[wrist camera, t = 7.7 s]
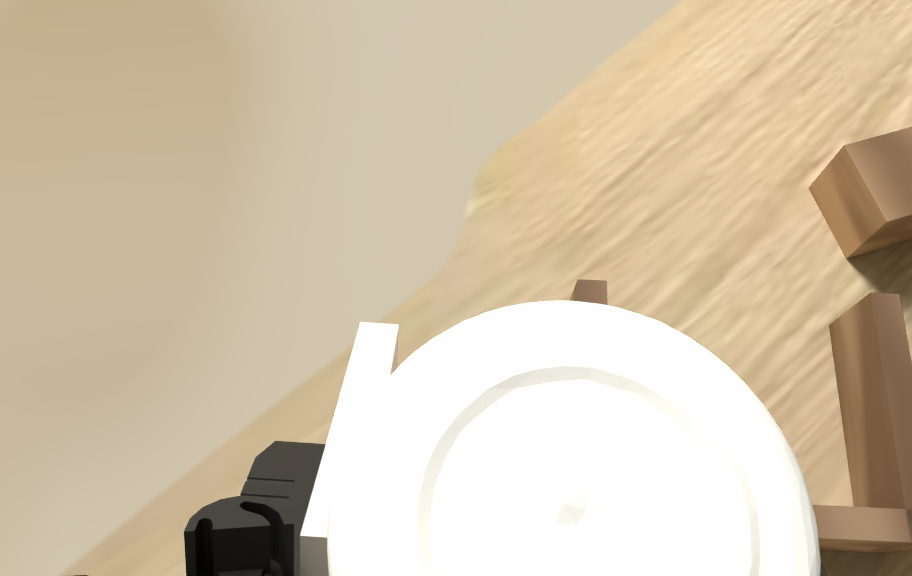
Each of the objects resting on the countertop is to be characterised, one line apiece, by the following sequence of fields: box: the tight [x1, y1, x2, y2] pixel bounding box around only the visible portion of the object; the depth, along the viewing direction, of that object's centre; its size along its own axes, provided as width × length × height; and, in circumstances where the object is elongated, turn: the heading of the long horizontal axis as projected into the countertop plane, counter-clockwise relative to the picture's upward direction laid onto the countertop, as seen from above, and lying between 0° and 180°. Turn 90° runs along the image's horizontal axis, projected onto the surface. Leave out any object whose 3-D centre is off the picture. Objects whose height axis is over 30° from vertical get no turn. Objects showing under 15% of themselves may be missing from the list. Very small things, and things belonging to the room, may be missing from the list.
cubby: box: [570, 280, 912, 553], centre depth 35 cm, size 13×10×4 cm
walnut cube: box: [809, 127, 912, 259], centre depth 39 cm, size 4×4×4 cm
